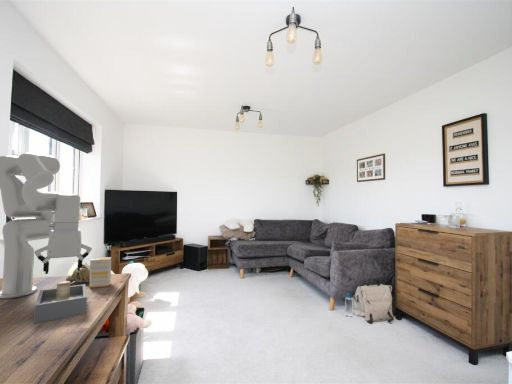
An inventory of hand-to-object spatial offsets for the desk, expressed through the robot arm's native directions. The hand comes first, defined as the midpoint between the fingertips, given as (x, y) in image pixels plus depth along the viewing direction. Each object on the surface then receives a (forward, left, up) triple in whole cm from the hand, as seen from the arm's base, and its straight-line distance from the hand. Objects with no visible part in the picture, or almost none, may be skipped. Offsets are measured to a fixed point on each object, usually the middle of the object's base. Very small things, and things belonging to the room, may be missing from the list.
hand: (63, 271), depth 97 cm
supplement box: (-21, +14, -15) cm, 29 cm away
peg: (+1, 0, -14) cm, 14 cm away
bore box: (+1, 0, -14) cm, 14 cm away
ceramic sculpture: (-33, +7, -15) cm, 36 cm away
